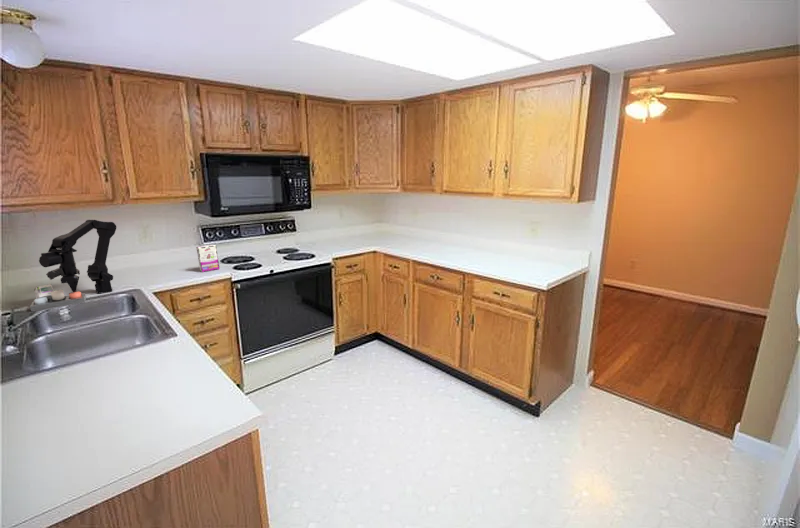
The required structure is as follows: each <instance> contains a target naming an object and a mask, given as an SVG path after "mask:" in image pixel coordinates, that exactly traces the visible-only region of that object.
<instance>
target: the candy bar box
mask: <svg viewBox="0 0 800 528" xmlns="http://www.w3.org/2000/svg"><path fill="white" fill-rule="evenodd" d="M195 248H196V249H195V250H196V253H197V261H198V266H199V271H200V272H201V273H204V272H205V273H207V272H212V271H217V270H220V261H219V257H218V256H219V255H218V250H217V245H216V244H210V245H209V244H207V245H201V246H196V247H195Z"/></svg>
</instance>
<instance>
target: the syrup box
mask: <svg viewBox="0 0 800 528" xmlns="http://www.w3.org/2000/svg"><path fill="white" fill-rule="evenodd" d="M52 291H54V288H53V286H52V284H46V285H45V284H44V285H38V286H35V288H34V295H35V299H36V298H40V297H47V299H49V298H52V296H51V292H52Z"/></svg>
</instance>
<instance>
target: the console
mask: <svg viewBox="0 0 800 528" xmlns="http://www.w3.org/2000/svg"><path fill="white" fill-rule="evenodd" d="M81 295H82V297H78V298H72V299H70V296H69V294H68V295H64V296H65V298H64V299H61V300H53V299H52V297H51V298H47V300H48V303H41V304H35V302H34V300H32V303H31V304H30V306H29V309H30V311H31V312H36V311H43V310H49V309H53V308H60V307H67V306H71V305H72V306H73V305H79V304H84V303H86V299H87V296H86V292H81Z"/></svg>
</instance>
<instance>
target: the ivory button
mask: <svg viewBox="0 0 800 528" xmlns="http://www.w3.org/2000/svg"><path fill="white" fill-rule="evenodd" d="M51 296H52V297H51V298H52V299H53V300H61V299H64V298H65V296H66V295H65V293H64V290H63V289H55V290H53V291H52V292H51Z"/></svg>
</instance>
